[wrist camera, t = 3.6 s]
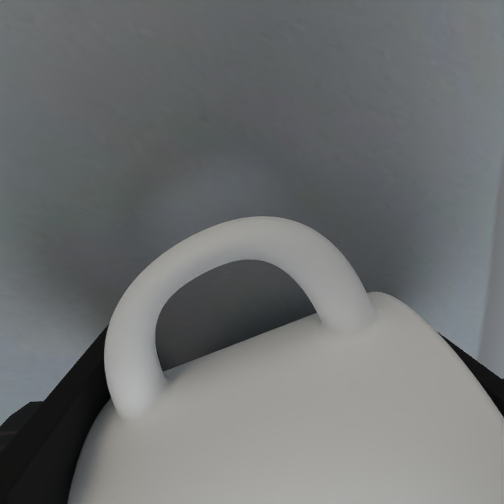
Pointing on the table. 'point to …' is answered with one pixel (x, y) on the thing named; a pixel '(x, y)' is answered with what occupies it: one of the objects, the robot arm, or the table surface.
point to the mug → (288, 395)
